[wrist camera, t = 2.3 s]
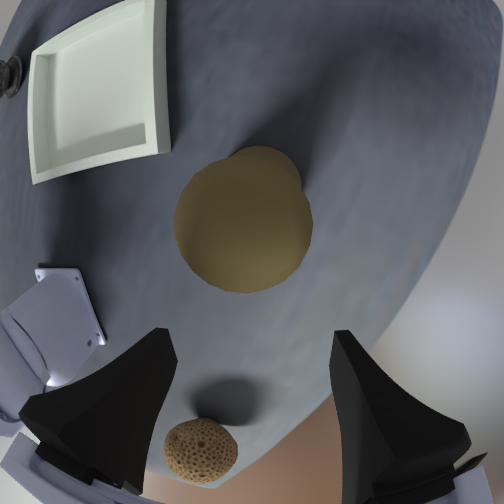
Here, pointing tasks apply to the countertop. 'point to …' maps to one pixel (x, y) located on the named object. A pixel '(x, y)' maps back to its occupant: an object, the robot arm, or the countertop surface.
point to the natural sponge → (200, 450)
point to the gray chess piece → (10, 76)
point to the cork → (244, 221)
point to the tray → (100, 91)
